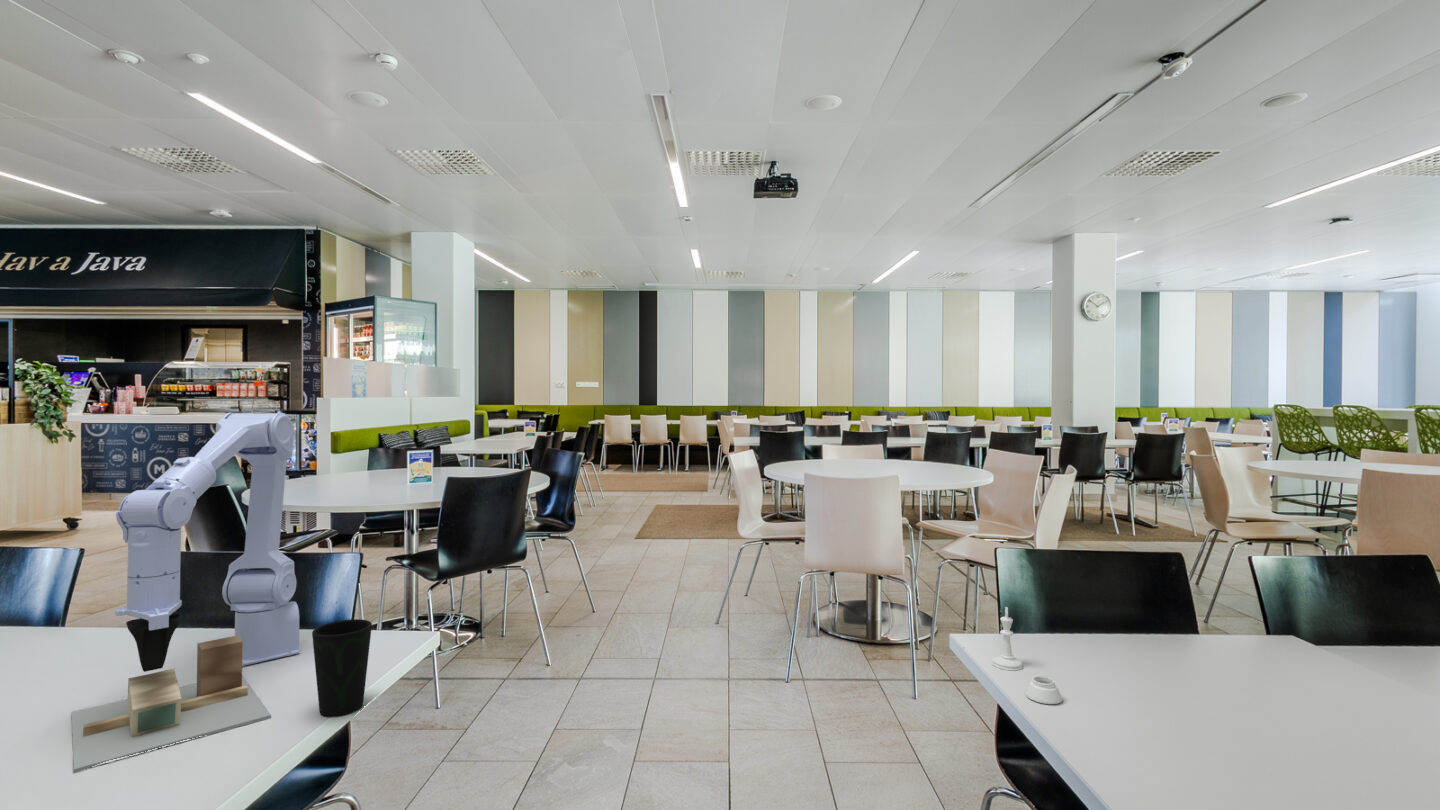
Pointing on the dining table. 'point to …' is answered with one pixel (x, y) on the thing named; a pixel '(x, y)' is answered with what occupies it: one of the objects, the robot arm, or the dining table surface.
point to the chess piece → (1006, 648)
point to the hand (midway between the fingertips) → (152, 668)
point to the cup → (341, 665)
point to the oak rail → (185, 706)
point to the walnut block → (219, 665)
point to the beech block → (153, 702)
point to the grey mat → (191, 726)
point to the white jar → (1043, 691)
